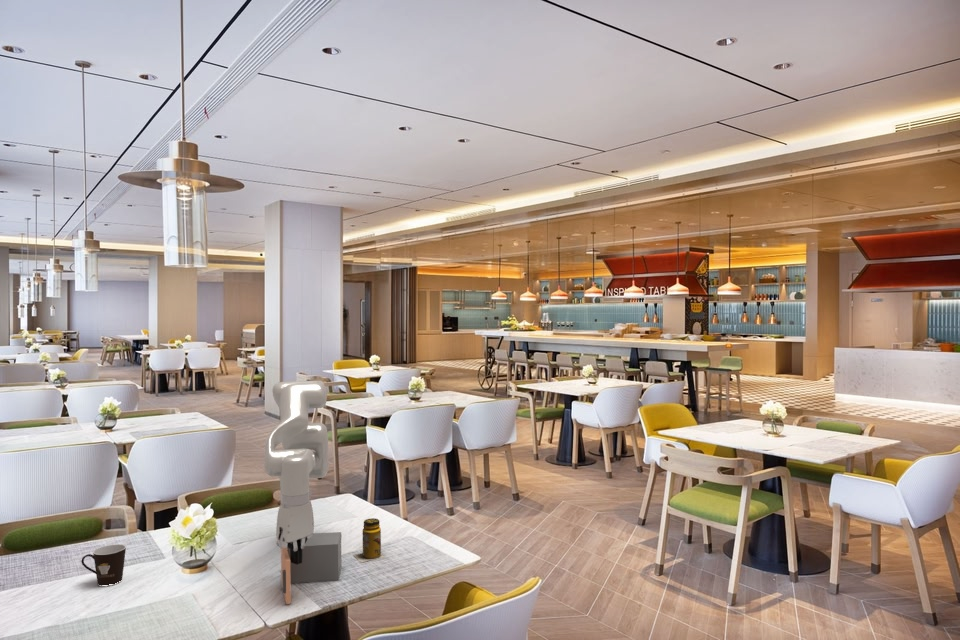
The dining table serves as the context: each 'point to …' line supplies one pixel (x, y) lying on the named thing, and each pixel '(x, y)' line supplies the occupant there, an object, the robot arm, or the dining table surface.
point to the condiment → (371, 541)
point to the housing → (318, 559)
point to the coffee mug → (108, 563)
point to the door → (286, 575)
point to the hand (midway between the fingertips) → (296, 562)
